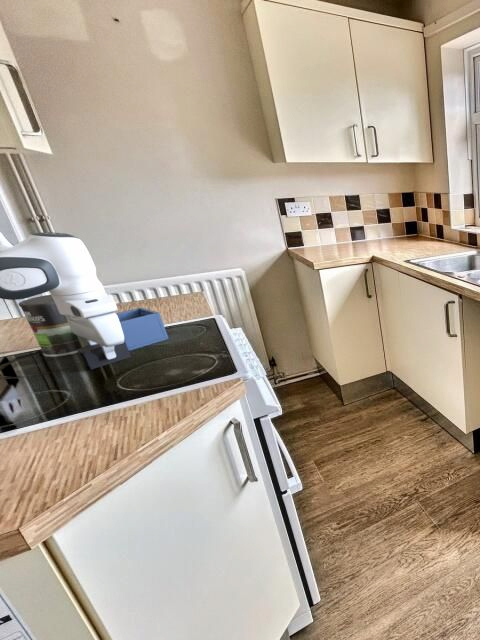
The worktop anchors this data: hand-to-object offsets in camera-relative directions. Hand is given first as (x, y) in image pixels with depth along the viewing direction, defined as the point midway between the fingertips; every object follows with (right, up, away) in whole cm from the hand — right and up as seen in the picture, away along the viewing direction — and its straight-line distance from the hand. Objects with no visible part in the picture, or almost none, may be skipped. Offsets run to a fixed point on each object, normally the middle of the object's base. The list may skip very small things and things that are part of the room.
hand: (106, 355), depth 104 cm
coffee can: (-17, +1, +8) cm, 19 cm away
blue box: (-4, +3, +11) cm, 12 cm away
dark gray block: (0, -1, +1) cm, 2 cm away
